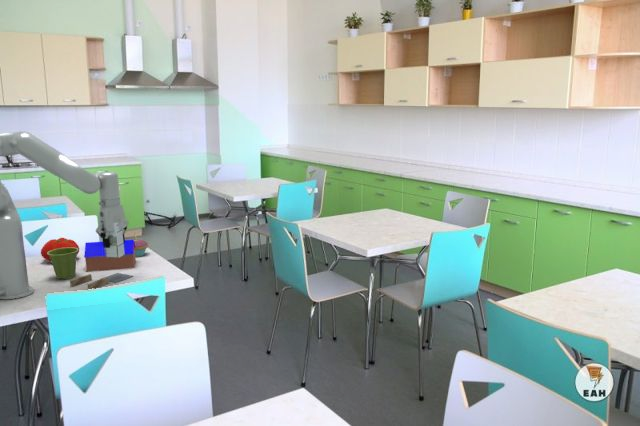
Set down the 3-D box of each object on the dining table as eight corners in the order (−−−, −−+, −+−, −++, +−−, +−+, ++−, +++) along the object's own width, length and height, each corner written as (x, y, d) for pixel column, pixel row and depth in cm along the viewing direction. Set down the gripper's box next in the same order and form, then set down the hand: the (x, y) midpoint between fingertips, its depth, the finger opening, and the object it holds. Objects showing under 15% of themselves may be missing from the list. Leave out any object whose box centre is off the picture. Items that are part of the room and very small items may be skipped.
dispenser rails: (89, 290, 212) (88, 284, 211) (70, 286, 217) (70, 280, 216) (109, 283, 220) (108, 277, 220) (90, 279, 225) (89, 273, 225)
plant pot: (65, 271, 237) (63, 246, 234) (87, 274, 232) (84, 248, 230) (43, 279, 226) (40, 253, 224) (65, 282, 222) (62, 255, 219)
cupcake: (126, 256, 259) (124, 232, 256) (137, 252, 267) (135, 228, 264) (141, 258, 256) (140, 233, 254) (152, 253, 264) (150, 229, 262)
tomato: (71, 264, 246) (69, 243, 244) (35, 265, 247) (33, 243, 245) (85, 256, 260) (83, 235, 258) (51, 256, 261) (49, 236, 259)
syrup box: (125, 254, 228) (122, 220, 225) (118, 258, 222) (115, 223, 219) (112, 254, 228) (108, 220, 225) (105, 258, 222) (101, 223, 219)
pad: (116, 282, 221) (116, 281, 221) (100, 279, 225) (100, 278, 225) (133, 276, 229) (132, 275, 229) (117, 273, 233) (117, 272, 233)
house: (90, 264, 247) (87, 239, 245) (136, 261, 252) (134, 236, 250) (85, 272, 236) (83, 246, 234) (134, 268, 241) (132, 242, 238)
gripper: (99, 207, 211) (103, 251, 215) (133, 199, 226) (136, 241, 230) (86, 205, 215) (90, 249, 218) (120, 198, 230) (123, 239, 233)
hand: (114, 244), depth 224 cm, fingers closed on syrup box, 7 cm apart
